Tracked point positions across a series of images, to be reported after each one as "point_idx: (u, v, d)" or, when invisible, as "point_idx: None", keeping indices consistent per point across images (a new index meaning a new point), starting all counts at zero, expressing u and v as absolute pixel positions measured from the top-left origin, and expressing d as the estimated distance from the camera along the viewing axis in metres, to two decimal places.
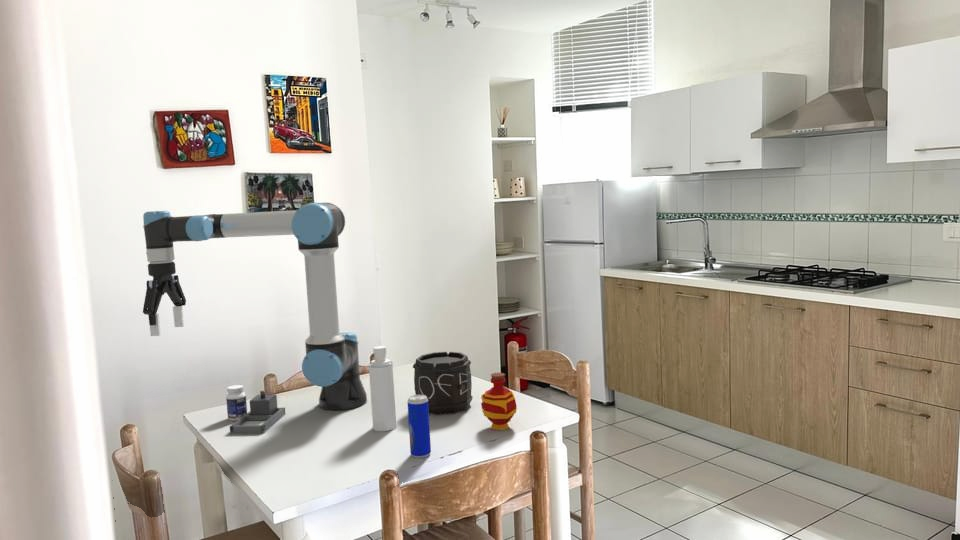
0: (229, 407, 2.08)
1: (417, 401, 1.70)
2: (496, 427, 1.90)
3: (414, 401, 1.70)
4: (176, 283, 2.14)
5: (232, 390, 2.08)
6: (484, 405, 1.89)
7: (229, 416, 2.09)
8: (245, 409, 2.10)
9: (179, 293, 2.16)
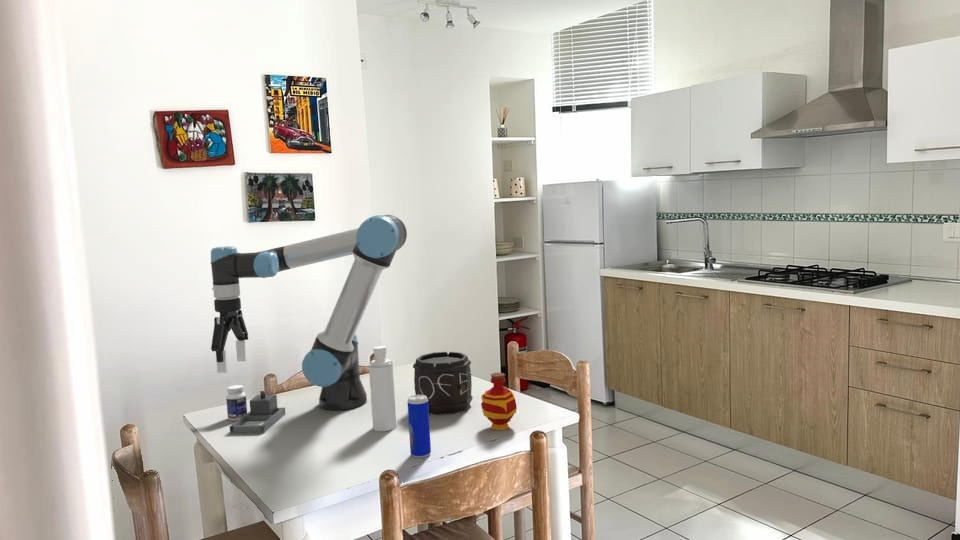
0: (229, 407, 2.08)
1: (417, 401, 1.70)
2: (496, 427, 1.90)
3: (414, 401, 1.70)
4: (240, 318, 2.14)
5: (232, 390, 2.08)
6: (484, 405, 1.89)
7: (229, 416, 2.09)
8: (245, 409, 2.10)
9: (242, 327, 2.16)
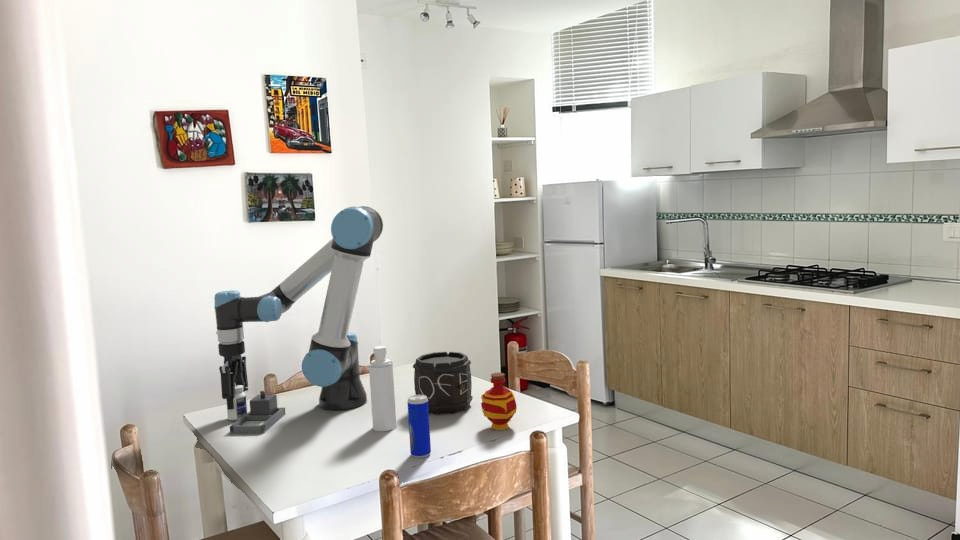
0: None
1: (417, 401, 1.70)
2: (496, 427, 1.90)
3: (414, 401, 1.70)
4: (243, 364, 2.14)
5: None
6: (483, 405, 1.89)
7: None
8: (245, 409, 2.10)
9: (243, 375, 2.15)
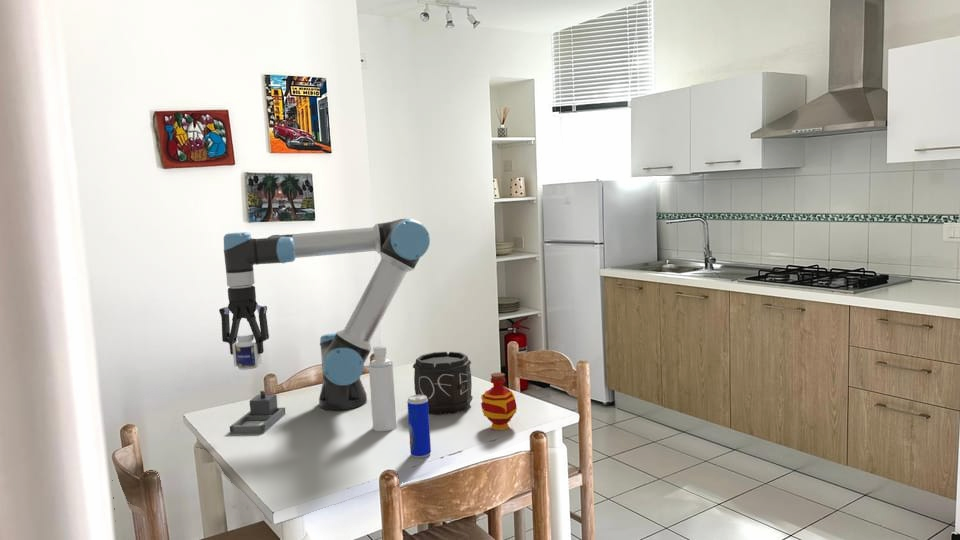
0: None
1: (417, 401, 1.70)
2: (496, 427, 1.90)
3: (414, 401, 1.70)
4: None
5: None
6: (484, 405, 1.89)
7: None
8: (242, 360, 1.97)
9: None
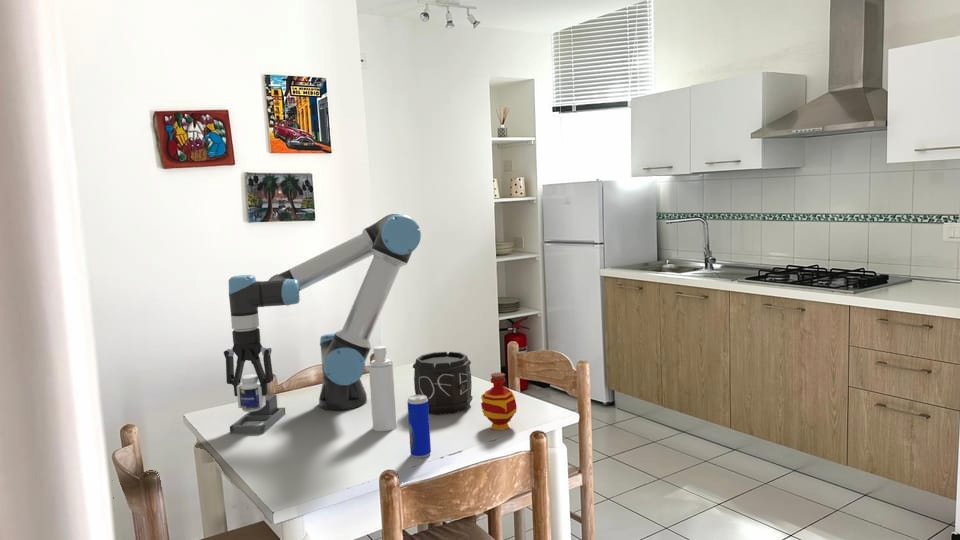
0: None
1: (417, 401, 1.70)
2: (496, 427, 1.90)
3: (414, 401, 1.70)
4: None
5: None
6: (484, 405, 1.89)
7: None
8: (246, 402, 1.98)
9: None
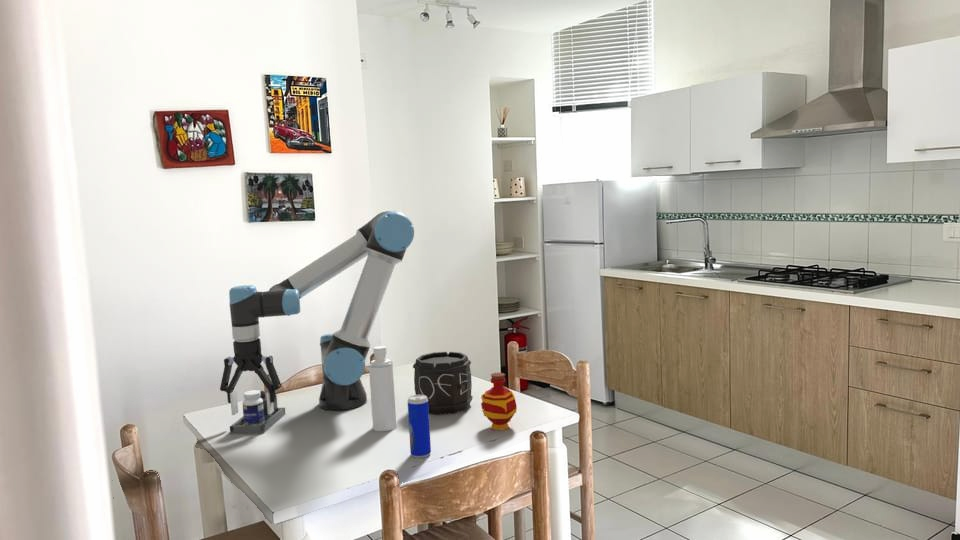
0: None
1: (417, 401, 1.70)
2: (496, 427, 1.90)
3: (414, 401, 1.70)
4: None
5: None
6: (484, 405, 1.89)
7: None
8: (249, 419, 1.98)
9: None
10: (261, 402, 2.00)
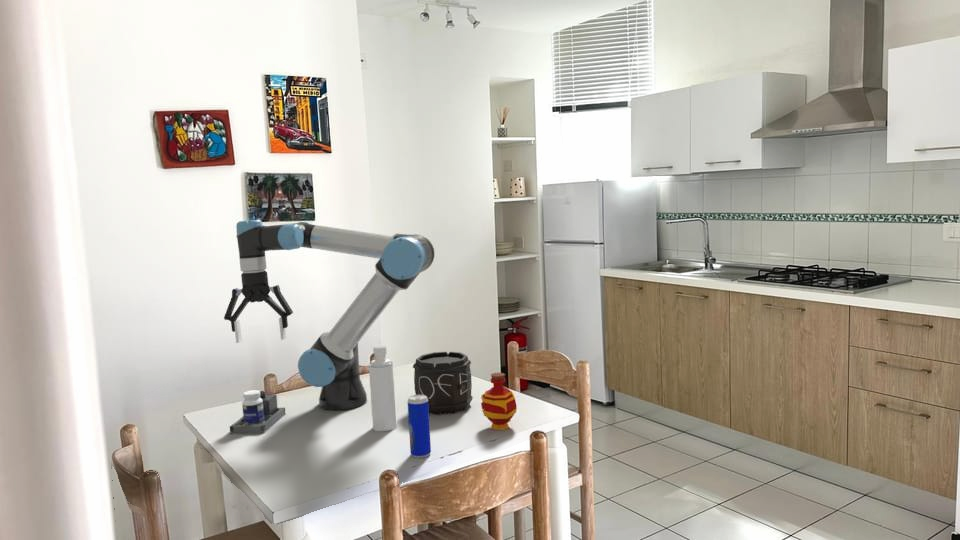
0: None
1: (417, 401, 1.70)
2: (496, 427, 1.90)
3: (414, 401, 1.70)
4: (275, 294, 2.07)
5: None
6: (484, 405, 1.89)
7: None
8: (248, 419, 1.98)
9: None
10: (261, 402, 2.00)
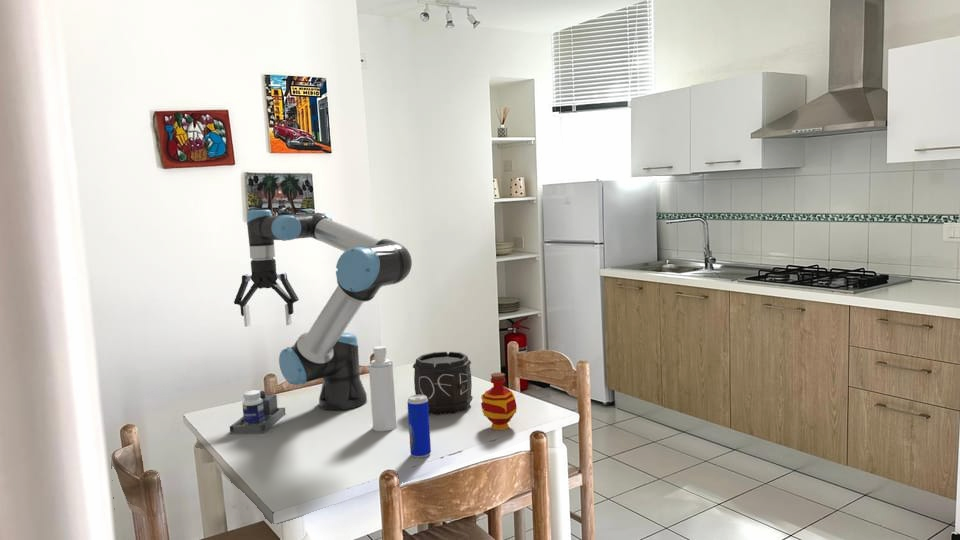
0: None
1: (417, 401, 1.70)
2: (496, 427, 1.90)
3: (414, 401, 1.70)
4: (282, 281, 2.16)
5: None
6: (484, 405, 1.89)
7: None
8: (248, 419, 1.98)
9: None
10: (261, 402, 2.00)
